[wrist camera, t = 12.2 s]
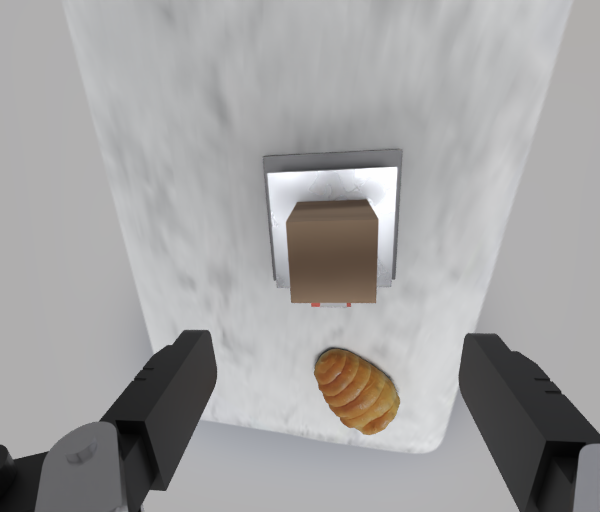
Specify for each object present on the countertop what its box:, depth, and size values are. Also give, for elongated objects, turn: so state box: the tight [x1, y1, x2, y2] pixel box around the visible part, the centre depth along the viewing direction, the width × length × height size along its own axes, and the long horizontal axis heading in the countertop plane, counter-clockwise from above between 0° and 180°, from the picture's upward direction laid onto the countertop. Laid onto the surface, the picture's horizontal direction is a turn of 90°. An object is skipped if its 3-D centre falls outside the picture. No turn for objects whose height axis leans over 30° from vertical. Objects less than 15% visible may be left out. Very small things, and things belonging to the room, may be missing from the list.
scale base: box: [263, 149, 402, 307], centre depth 25 cm, size 11×11×6 cm
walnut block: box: [286, 199, 379, 303], centre depth 21 cm, size 5×5×6 cm
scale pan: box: [267, 166, 397, 307], centre depth 25 cm, size 11×9×2 cm
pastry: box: [314, 348, 400, 435], centre depth 32 cm, size 9×7×4 cm
